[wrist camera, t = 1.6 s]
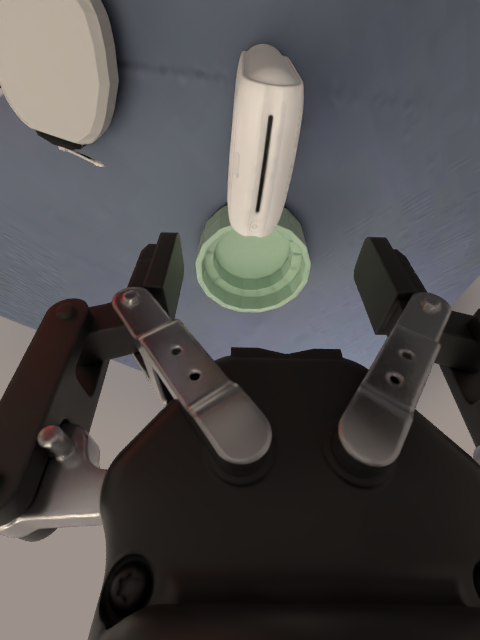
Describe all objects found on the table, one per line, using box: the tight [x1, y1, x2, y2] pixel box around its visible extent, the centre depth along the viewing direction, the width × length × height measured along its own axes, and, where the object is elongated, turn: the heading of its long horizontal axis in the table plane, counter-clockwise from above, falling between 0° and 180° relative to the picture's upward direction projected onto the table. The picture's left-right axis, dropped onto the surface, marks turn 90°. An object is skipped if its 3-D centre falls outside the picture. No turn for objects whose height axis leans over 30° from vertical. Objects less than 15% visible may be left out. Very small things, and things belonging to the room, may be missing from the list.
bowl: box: [196, 205, 311, 312], centre depth 35 cm, size 12×12×5 cm
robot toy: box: [0, 0, 119, 167], centre depth 22 cm, size 12×4×15 cm
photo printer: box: [227, 44, 304, 237], centre depth 23 cm, size 10×4×12 cm, turn 174°
